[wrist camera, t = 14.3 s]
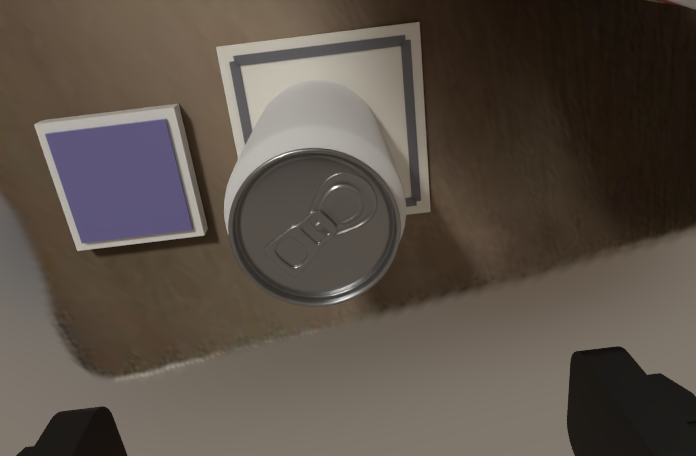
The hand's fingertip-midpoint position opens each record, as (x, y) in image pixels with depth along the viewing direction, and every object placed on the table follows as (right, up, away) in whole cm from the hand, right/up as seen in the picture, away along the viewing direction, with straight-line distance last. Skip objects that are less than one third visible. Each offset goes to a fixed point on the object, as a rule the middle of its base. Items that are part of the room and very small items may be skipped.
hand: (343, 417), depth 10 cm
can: (-2, +8, +19) cm, 21 cm away
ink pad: (-12, +6, +20) cm, 24 cm away
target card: (-1, +8, +19) cm, 21 cm away
